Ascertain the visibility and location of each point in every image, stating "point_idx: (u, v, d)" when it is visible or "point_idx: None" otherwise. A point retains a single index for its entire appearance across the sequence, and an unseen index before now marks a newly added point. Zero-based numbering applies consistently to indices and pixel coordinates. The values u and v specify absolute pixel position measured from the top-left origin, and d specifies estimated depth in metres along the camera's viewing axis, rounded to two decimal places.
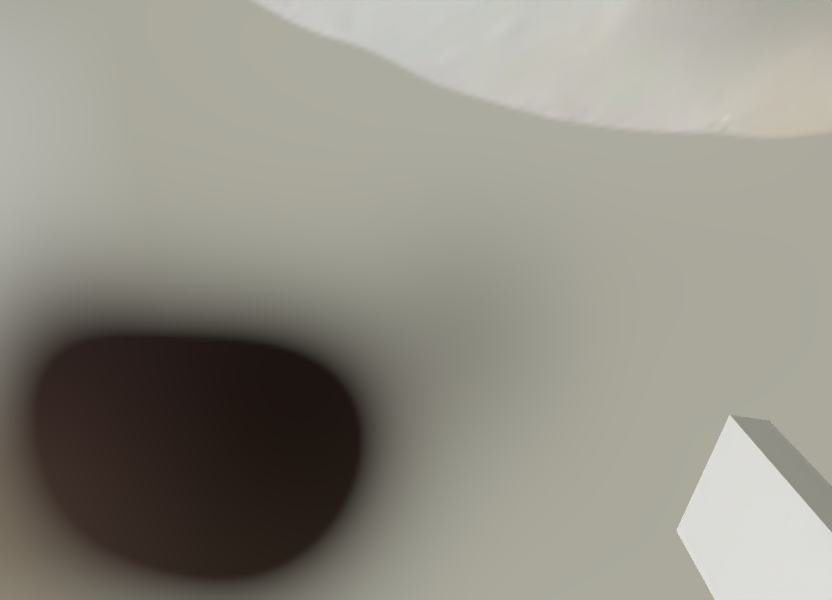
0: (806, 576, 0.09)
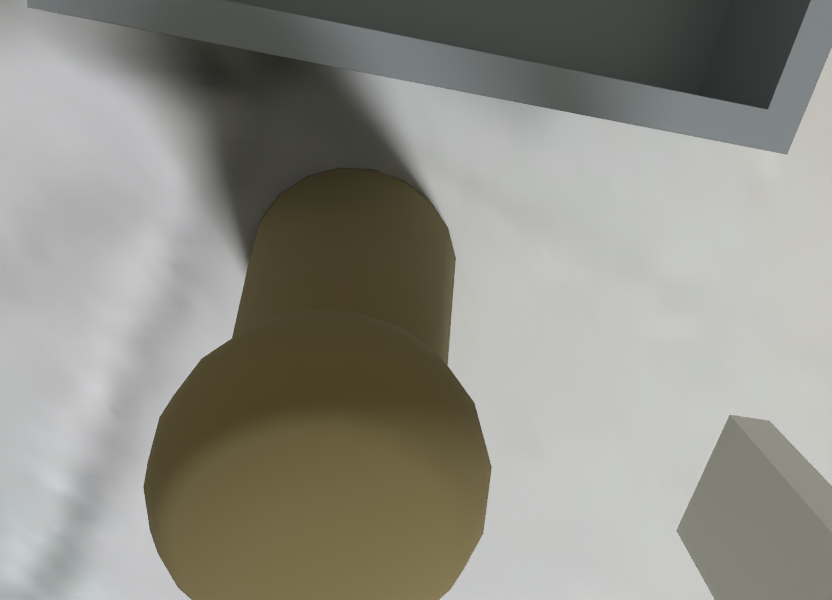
0: (806, 576, 0.09)
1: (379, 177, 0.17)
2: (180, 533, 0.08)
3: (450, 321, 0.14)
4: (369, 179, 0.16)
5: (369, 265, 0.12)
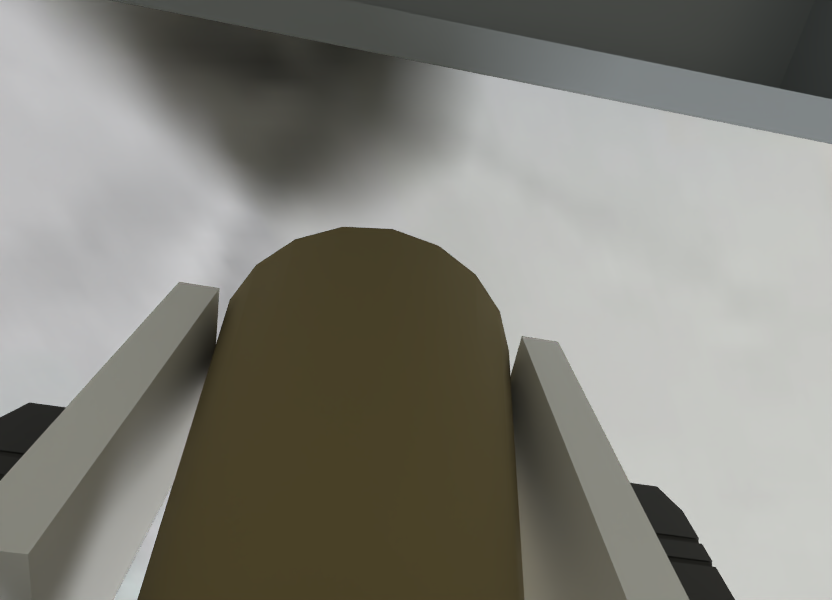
0: (540, 457, 0.10)
1: (402, 244, 0.11)
2: None
3: (517, 496, 0.09)
4: (387, 248, 0.11)
5: (388, 447, 0.07)
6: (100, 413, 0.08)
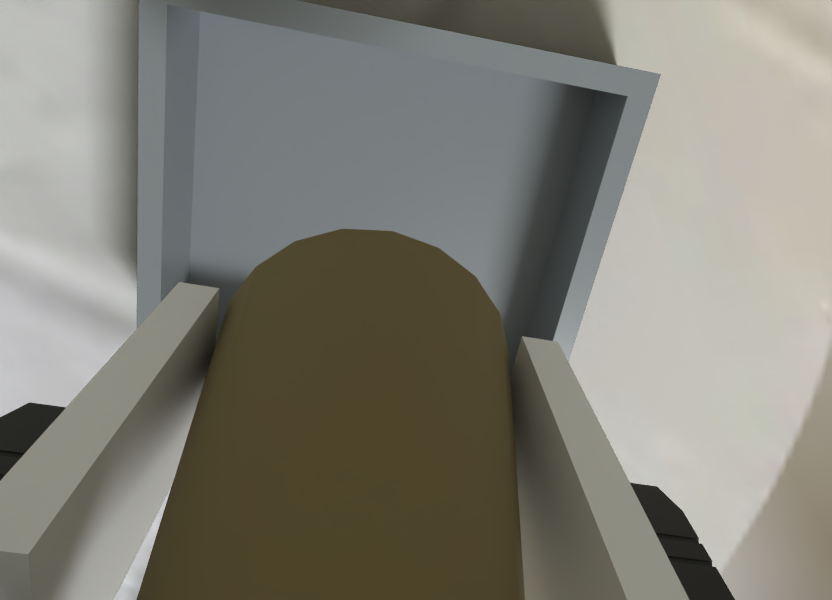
0: (540, 456, 0.10)
1: (401, 246, 0.11)
2: None
3: (518, 500, 0.09)
4: (387, 250, 0.11)
5: (388, 452, 0.07)
6: (100, 413, 0.08)
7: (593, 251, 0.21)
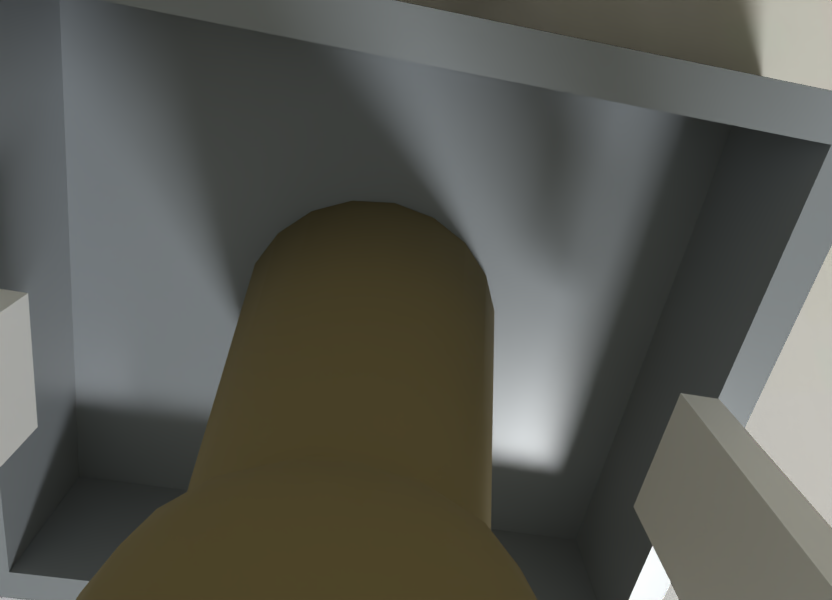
0: (740, 542, 0.09)
1: (402, 214, 0.13)
2: None
3: (492, 414, 0.11)
4: (389, 217, 0.13)
5: (385, 355, 0.09)
6: None
7: (738, 403, 0.12)
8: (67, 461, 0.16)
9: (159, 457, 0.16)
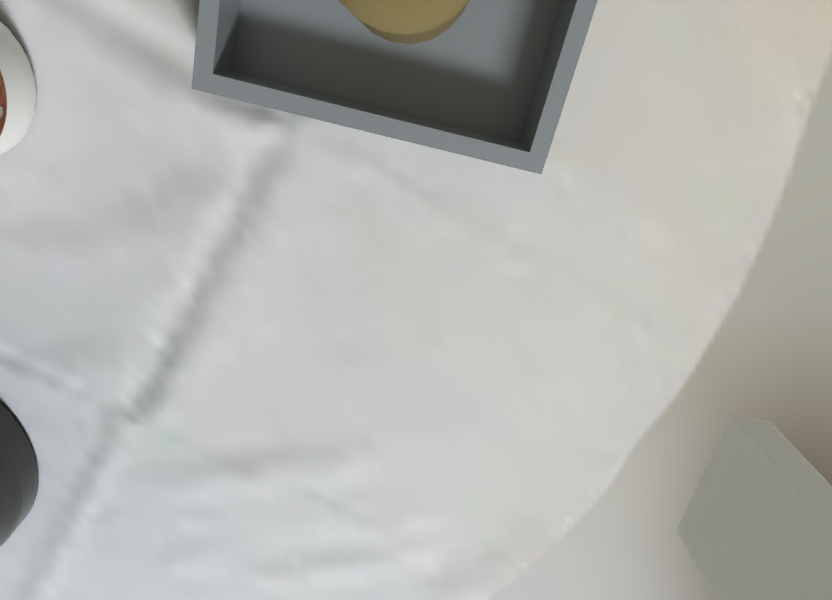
0: (806, 576, 0.09)
1: None
2: None
3: None
4: None
5: None
6: None
7: None
8: (232, 48, 0.28)
9: (281, 59, 0.28)
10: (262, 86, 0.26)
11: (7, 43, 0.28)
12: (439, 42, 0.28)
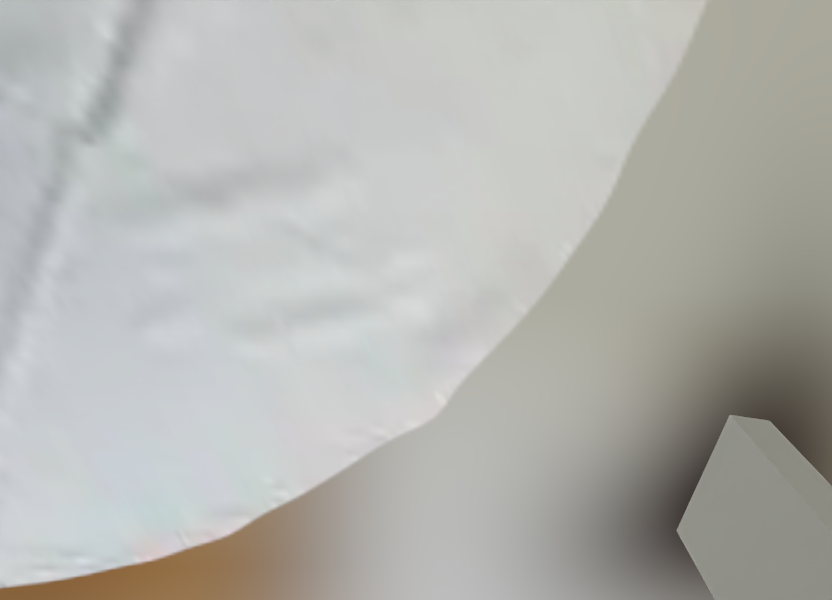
0: (806, 576, 0.09)
1: None
2: None
3: None
4: None
5: None
6: None
7: None
8: None
9: None
10: None
11: None
12: None
